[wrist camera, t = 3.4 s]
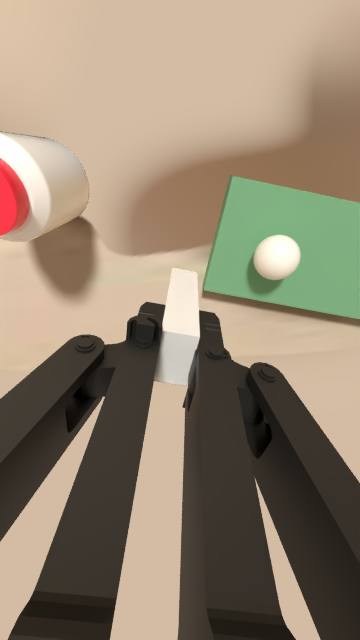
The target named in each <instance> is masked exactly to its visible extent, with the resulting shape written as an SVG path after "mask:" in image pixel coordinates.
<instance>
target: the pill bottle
mask: <svg viewBox="0 0 360 640" xmlns="http://www.w3.org/2000/svg"><path fill="white" fill-rule="evenodd" d="M88 198H89V184H88V179H87V176H86V173H85V170H84V169H83V166H82V164H81V163H80V161H79V160H78V159H77V157H76V156H75V155H74V154H73V153H72V152H71V151H70V150H69V149H68V148H67V147H65V146H64V145H63V144H61V143H59V142H57V141H55V140H52V139H49V138H44V137H37V136H30V135H23V134H16V133H9V132H2V131H0V238H1V239H3V240H7V241H12V242H25V241H30V240H33V239H35V238H37V237H39V236H41V235H43V234H45V233H47V232H49V231H51V230H53V229H55V228H57V227H59V226H61V225H63V224H65V223H67V222H69V221H71V220H73V219H75V218H77V217H78V216H79V215H81V214H82V212H83V211H84V209H85V208H86V205H87V203H88Z"/></svg>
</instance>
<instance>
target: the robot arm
mask: <svg viewBox="0 0 360 640" xmlns="http://www.w3.org/2000/svg"><path fill="white" fill-rule="evenodd" d="M154 381H158V382H164V383H170V384H177V385H183V386H186V385H187V382H188V389H187V393H186V397H185V400H184V404H183V408H185V436H184V469H183V502H182V535H181V569H180V600H179V629H178V640H296V639H295V638H294V636H293V635H292V633H291V632H290V630H289V629H288V628H287V626H286V624H285V622H284V619H283V617H282V613H281V609H280V606H279V600H278V596H277V591H276V585H275V580H274V575H273V570H272V565H271V559H270V554H269V550H268V544H267V539H266V534H265V529H264V524H263V519H262V513H261V508H260V503H259V498H258V493H257V488H256V483H255V479H256V481H257V484H258V486H259V488H260V491H261V493H262V496H263V498H264V501H265V503H266V506H267V508H268V510H269V513H270V516H271V518H272V520H273V523H274V525H275V528H276V530H277V533H278V535H279V538H280V540H281V543H282V545H283V548H284V550H285V553H286V555H287V558H288V560H289V563H290V565H291V567H292V570H293V572H294V574H295V577H296V580H297V582H298V585H299V587H300V589H301V592H302V595H303V597H304V600H305V602H306V604H307V607H308V609H309V612H310V614H311V617H312V619H313V622H314V624H315V627H316V629H317V632H318V634H319V637H320V639H321V640H360V483H359V482H358V480H357V479H356V477H355V476H354V475H353V473H352V472H351V470H350V469H349V467H348V466H347V465H346V463H345V462H344V460H343V459H342V457H341V456H340V455H339V453H338V452H337V450H336V449H335V448H334V447H333V445H332V443H331V442H330V441H329V439H328V438H327V436H326V435H325V434H324V432H323V431H322V429H321V428H320V426H319V425H318V424H317V422H316V421H315V419H314V418H313V417H312V416H311V414H310V413H309V411H308V410H307V408H306V407H305V405H304V404H303V403H302V401H301V400H300V398H299V397H298V395H297V394H296V393H295V391H294V390H293V389H292V387H291V386H290V384H289V383H288V381H287V380H286V379H285V377H284V376H283V374H282V373H281V372H280V371H279V370H278V369H276V368H275V367H273V366H271V365H269V364H267V363H261V362H258V363H254V364H253V365H252V366H251V367H250V368H248V367H245V366H242V365H240V364H238V363H236V362H234V361H233V360H231V356H230V354H229V352H228V351H227V350H226V349H225V348H224V345H223V339H222V333H221V327H220V321H219V318H218V317H217V316H216V315H215V313H211V312H206V311H200V310H199V305H198V282H197V272H192V271H187V270H181V269H176V268H172V274H171V279H170V285H169V290H168V296H167V301H166V305H162V304H156V303H151V302H146V303H144V304H143V305H142V306H141V307H140V310H139V313H138V316H134V317H132V318H130V319H129V321H128V322H127V335H126V340H125V341H124V342H121V343H118V344H107V345H104V342H103V341H102V339H101V338H99V337H97V336H94V335H79V336H76V337H74V338H72V339H70V340H69V341H68V342H66V343H65V344H64V345H63V346H62V347H61V348H59V349H58V350H57V351H56V352H55V353H54V354H52V355H51V356H50V357H49V358H48V359H47V360H45V361H44V362H43V363H42V364H41V365H40V366H38V367H37V368H36V369H35V370H34V371H33V372H31V373H30V374H29V375H28V376H27V377H26V378H24V379H23V380H22V381H21V382H20V383H19V384H17V385H16V386H15V387H14V388H13V389H12V390H10V391H9V392H8V393H7V394H6V395H5V396H3V397H2V398H1V399H0V541H1V540H2V538H3V537H4V536H5V534H6V533H7V532H8V530H9V529H10V527H11V526H12V524H13V523H14V521H15V520H16V519H17V517H18V516H19V514H20V513H21V512H22V510H23V509H24V508H25V506H26V505H27V503H28V502H29V501H30V499H31V498H32V496H33V495H34V493H35V492H36V491H37V489H38V488H39V487H40V485H41V484H42V482H43V481H44V479H45V478H46V477H47V475H48V474H49V473H50V471H51V470H52V468H53V467H54V466H55V464H56V463H57V461H58V460H59V459H60V457H61V456H62V454H63V453H64V452H65V450H66V449H67V447H68V446H69V444H70V443H71V441H72V440H73V439H74V437H75V436H76V435H77V433H78V432H79V431H80V429H81V428H82V426H83V425H84V424H85V422H86V421H87V419H88V418H89V417H90V415H91V414H92V412H93V411H94V409H95V408H96V407H97V405H98V404H99V402H100V401H101V399H102V397H103V396H105V399H104V401H103V404H102V407H101V410H100V412H99V415H98V418H97V421H96V423H95V426H94V429H93V432H92V434H91V437H90V440H89V443H88V446H87V448H86V451H85V454H84V456H83V459H82V462H81V465H80V467H79V470H78V473H77V475H76V478H75V481H74V484H73V486H72V489H71V492H70V495H69V497H68V500H67V503H66V506H65V508H64V511H63V514H62V517H61V519H60V522H59V525H58V527H57V530H56V533H55V536H54V538H53V541H52V544H51V547H50V550H49V552H48V555H47V558H46V560H45V563H44V566H43V569H42V571H41V574H40V577H39V580H38V582H37V585H36V587H35V590H34V592H33V594H32V596H31V598H30V600H29V602H28V603H27V605H26V606H25V608H24V609H23V611H22V612H21V614H20V615H19V617H18V619H17V621H16V623H15V625H14V627H13V629H12V631H11V634H10V635H9V638H8V640H110V634H111V629H112V622H113V617H114V611H115V605H116V599H117V593H118V587H119V581H120V576H121V570H122V564H123V558H124V552H125V546H126V540H127V535H128V528H129V522H130V517H131V511H132V505H133V499H134V494H135V487H136V482H137V476H138V470H139V464H140V458H141V452H142V447H143V441H144V435H145V429H146V422H147V417H148V411H149V406H150V400H151V394H152V388H153V382H154ZM254 476H255V477H254Z"/></svg>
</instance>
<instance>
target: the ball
mask: <svg viewBox="0 0 360 640" xmlns="http://www.w3.org/2000/svg"><path fill="white" fill-rule="evenodd" d="M300 257H301V253H300V249H299V246H298V244H297V243H296V242H295V241H294V240H293V239H292V238H290V237H288V236H285V235H273V236H270V237H268V238H266V239H264V240H263V241H262V242H261V243H260V244H259V245H258V246H257V248H256V250H255V253H254V266H255V268H256V270H257V272H258V273H259V274H260V275H261V276H263V277H265V278H267V279H270V280H280V279H283V278H286V277H288V276H289V275H291V274H292V273H293V272H294V271H295V270H296V268H297V267H298V265H299V262H300Z"/></svg>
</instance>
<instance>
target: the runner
mask: <svg viewBox="0 0 360 640" xmlns="http://www.w3.org/2000/svg"><path fill="white" fill-rule="evenodd" d="M273 235H285V236H288V237H290V238H292V239H293V240H294V241H295V242H296V243H297V244H298V246H299V249H300V253H301V257H300V262H299V265H298V267H297V268H296V270H295V271H294V272H293V273H292V274H291V275H289V276H288V277H286V278H283V279H280V280H270V279H267V278H265V277H263V276H261V275H260V274H259V273H258V272H257V270H256V268H255V266H254V253H255V250H256V248H257V246H258V245H259V244H260V243H261V242H262V241H263V240H264V239H266V238H268V237H270V236H273ZM203 290H204V291H210V292H215V293H221V294H226V295H231V296H237V297H242V298H248V299H253V300H258V301H264V302H269V303H274V304H280V305H285V306H291V307H296V308H301V309H307V310H312V311H318V312H323V313H328V314H334V315H339V316H344V317H350V318H355V319H360V203H358V202H353V201H349V200H344V199H340V198H335V197H330V196H325V195H320V194H316V193H311V192H307V191H302V190H297V189H292V188H288V187H283V186H278V185H274V184H269V183H264V182H260V181H255V180H250V179H245V178H241V177H236V176H232V175H231V176H230V178H229V182H228V186H227V190H226V194H225V198H224V202H223V206H222V210H221V214H220V218H219V222H218V226H217V230H216V234H215V238H214V242H213V246H212V250H211V254H210V258H209V262H208V266H207V270H206V274H205V278H204V282H203Z"/></svg>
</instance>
